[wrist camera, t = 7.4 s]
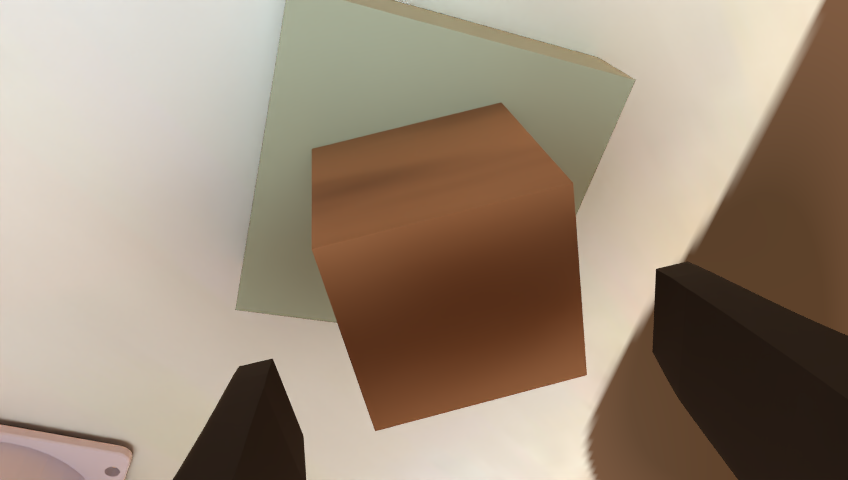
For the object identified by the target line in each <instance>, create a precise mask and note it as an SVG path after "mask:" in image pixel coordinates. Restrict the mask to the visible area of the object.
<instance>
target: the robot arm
mask: <svg viewBox="0 0 848 480" xmlns="http://www.w3.org/2000/svg"><path fill="white" fill-rule="evenodd" d="M653 353H654V355H655V357H656V359H657V361H658V362H659V365H660V367H661V368H662V370H663V372H664V374H665V376H666V378H667V379H668V381H669V383H670V385H671V386H672V388H673V390H674V392H675V393H676V395H677V397H678V398H679V400H680V401H681V403H682V404H683V405H684V407H685V408H686V410H687V411H688V412H689V414H690V415H691V416H692V418H693V419H694V421H695V422H696V423H697V425H698V426H699V427H700V429H701V430H702V431H703V433H704V434H705V436H706V437H707V438H708V440H709V441H710V442H711V444H712V445H713V446H714V448H715V449H716V450H717V452H718V453H719V454H720V456H721V457H722V458H723V460H724V461H725V463H726V464H727V465H728V466H729V468H730V469H731V471H732V472H733V473H734V475H735V476H736V477H737V478H738V480H848V336H847V335H845V334H842V333H840V332H838V331H835V330H833V329H831V328H828V327H826V326H824V325H822V324H819V323H817V322H814V321H812V320H810V319H808V318H806V317H804V316H801V315H799V314H797V313H795V312H792V311H791V310H788V309H786V308H784V307H782V306H780V305H778V304H776V303H774V302H772V301H770V300H767V299H765V298H763V297H761V296H759V295H757V294H755V293H753V292H751V291H749V290H747V289H745V288H743V287H741V286H739V285H736V284H734V283H732V282H730V281H728V280H726V279H724V278H722V277H720V276H718V275H716V274H714V273H712V272H710V271H707V270H705V269H703V268H701V267H699V266H697V265H694V264H692V263H690V262H684V263H680V264H675V265H671V266H667V267H662V268H658V269H656V284H655V307H654V330H653ZM131 460H132V453H131V451H130V450H129V449H127V448H126V447H123V446H119V445H114V444H108V443H102V442H97V441H91V440H85V439H80V438H74V437H68V436H63V435H57V434H52V433H46V432H40V431H35V430H29V429H23V428H18V427H12V426H6V425H1V424H0V480H125V477H126V474H127V471H128V468H129V466H130V463H131ZM113 467H116V468H113ZM173 480H306V469H305V453H304V438H303V434H302V431H301V429H300V426H299V424H298V421H297V419H296V416H295V414H294V411H293V409H292V406H291V404H290V401H289V399H288V396H287V393H286V391H285V388H284V386H283V383H282V381H281V378H280V376H279V373H278V371H277V368H276V366H275V363H274V361H273V359H269V360H265V361H260V362H256V363H252V364H248V365H243V366H239V368H238V369H237V370H236V372H235V374H234V375H233V377H232V379H231V381H230V382H229V384H228V386H227V388H226V390H225V391H224V393H223V395H222V397H221V399H220V400H219V402H218V404H217V406H216V408H215V409H214V411H213V413H212V415H211V416H210V418H209V420H208V422H207V424H206V425H205V427H204V429H203V431H202V432H201V434H200V436H199V437H198V439H197V441H196V442H195V444H194V446H193V447H192V449H191V451H190V452H189V454H188V456H187V457H186V459H185V461H184V462H183V464H182V466H181V467H180V469H179V470H178V472H177V474H176V475H175V477H174V478H173Z"/></svg>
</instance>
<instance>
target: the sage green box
mask: <svg viewBox="0 0 848 480" xmlns="http://www.w3.org/2000/svg"><path fill="white" fill-rule="evenodd" d="M634 83H635V79H633V78H631V77H630V76H628V75H626V74H625V73H623V72H621V71H620V70H618V69H616V68H615V67H613V66H611V65H610V64H608V63H606V62H605V61H603V60H601V59H600V58H598V57H595V56H591V55H587V54H584V53H580V52H577V51H573V50H570V49H566V48H562V47H559V46H555V45H552V44H548V43H544V42H541V41H537V40H534V39H530V38H527V37H523V36H519V35H516V34H512V33H509V32H505V31H501V30H498V29H494V28H491V27H487V26H484V25H480V24H476V23H473V22H469V21H466V20H462V19H458V18H455V17H451V16H448V15H444V14H441V13H437V12H433V11H430V10H426V9H423V8H419V7H416V6H412V5H408V4H405V3H401V2H398V1H394V0H286V3H285V9H284V15H283V21H282V27H281V33H280V39H279V46H278V52H277V58H276V64H275V70H274V76H273V82H272V88H271V95H270V101H269V107H268V113H267V119H266V125H265V131H264V137H263V144H262V150H261V156H260V162H259V168H258V174H257V180H256V186H255V193H254V199H253V205H252V211H251V217H250V223H249V229H248V235H247V242H246V248H245V254H244V260H243V266H242V272H241V278H240V284H239V291H238V297H237V303H236V309H235V310H240V311H248V312H256V313H264V314H272V315H280V316H288V317H296V318H303V319H311V320H319V321H327V322H335V323H337V320H336V318H335V315H334V312H333V309H332V306H331V303H330V300H329V298H328V295H327V292H326V289H325V286H324V283H323V280H322V278H321V275H320V272H319V269H318V266H317V263H316V260H315V258H314V255H313V252H312V149H314V148H318V147H322V146H326V145H330V144H334V143H338V142H342V141H346V140H350V139H354V138H358V137H362V136H366V135H370V134H374V133H378V132H383V131H387V130H391V129H395V128H399V127H403V126H407V125H411V124H415V123H419V122H423V121H427V120H431V119H435V118H439V117H443V116H448V115H452V114H456V113H460V112H464V111H468V110H472V109H476V108H480V107H484V106H488V105H492V104H496V103H502V104H503V105H504V106H505V107H506V108H507V109H508V110H509V112H510V113H511V114H512V115H513V116H514V117H515V118H516V119H517V121H518V122H519V123H520V124H521V125H522V126H523V127H524V128H525V129H526V131H527V132H528V133H529V134H530V135H531V136H532V137H533V138H534V140H535V141H536V142H537V143H538V144H539V145H540V146H541V147H542V149H543V150H544V151H545V152H546V153H547V154H548V155H549V156H550V158H551V159H552V160H553V161H554V162H555V163H556V164H557V165H558V166H559V168H560V169H561V170H562V171H563V172H564V173H565V174H566V175H567V177H568V178H569V179H570V180H571V181H572V182H573V187H574V201H575V215H576V214H577V212H578V209H579V207H580V205H581V202H582V200H583V198H584V196H585V193H586V191H587V189H588V187H589V184H590V182H591V180H592V178H593V175H594V173H595V171H596V169H597V166H598V164H599V162H600V159H601V157H602V155H603V153H604V150H605V148H606V146H607V144H608V141H609V139H610V137H611V135H612V132H613V130H614V128H615V126H616V123H617V121H618V119H619V116H620V114H621V112H622V110H623V107H624V105H625V103H626V101H627V98H628V96H629V94H630V92H631V89H632V87H633V85H634Z"/></svg>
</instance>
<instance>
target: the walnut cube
mask: <svg viewBox="0 0 848 480" xmlns="http://www.w3.org/2000/svg"><path fill="white" fill-rule="evenodd" d="M312 252H313V255H314V258H315V260H316V263H317V266H318V269H319V272H320V275H321V278H322V280H323V283H324V286H325V289H326V292H327V295H328V298H329V300H330V303H331V306H332V309H333V312H334V315H335V318H336V320H337V323H338V326H339V329H340V332H341V335H342V338H343V340H344V343H345V346H346V349H347V352H348V355H349V358H350V360H351V363H352V366H353V369H354V372H355V375H356V378H357V380H358V383H359V386H360V389H361V392H362V395H363V398H364V400H365V403H366V406H367V409H368V412H369V415H370V418H371V420H372V423H373V426H374V429H375V431H377V430H381V429H385V428H389V427H393V426H396V425H400V424H404V423H408V422H411V421H415V420H419V419H423V418H426V417H430V416H434V415H438V414H442V413H445V412H449V411H453V410H457V409H460V408H464V407H468V406H472V405H476V404H479V403H483V402H487V401H491V400H494V399H498V398H502V397H506V396H509V395H513V394H517V393H521V392H525V391H528V390H532V389H536V388H540V387H543V386H547V385H551V384H555V383H559V382H562V381H566V380H570V379H574V378H577V377H581V376H585V375H587V371H586V357H585V343H584V329H583V314H582V300H581V286H580V272H579V258H578V243H577V229H576V215H575V201H574V187H573V182H572V181H571V180H570V179H569V178H568V177H567V175H566V174H565V173H564V172H563V171H562V170H561V169H560V168H559V166H558V165H557V164H556V163H555V162H554V161H553V160H552V159H551V158H550V156H549V155H548V154H547V153H546V152H545V151H544V150H543V149H542V147H541V146H540V145H539V144H538V143H537V142H536V141H535V140H534V138H533V137H532V136H531V135H530V134H529V133H528V132H527V131H526V129H525V128H524V127H523V126H522V125H521V124H520V123H519V122H518V121H517V119H516V118H515V117H514V116H513V115H512V114H511V113H510V112H509V110H508V109H507V108H506V107H505V106H504V105H503V104H502V103H496V104H492V105H488V106H484V107H480V108H476V109H472V110H468V111H464V112H460V113H456V114H452V115H448V116H443V117H439V118H435V119H431V120H427V121H423V122H419V123H415V124H411V125H407V126H403V127H399V128H395V129H391V130H387V131H383V132H378V133H374V134H370V135H366V136H362V137H358V138H354V139H350V140H346V141H342V142H338V143H334V144H330V145H326V146H322V147H318V148H314V149H312Z"/></svg>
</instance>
